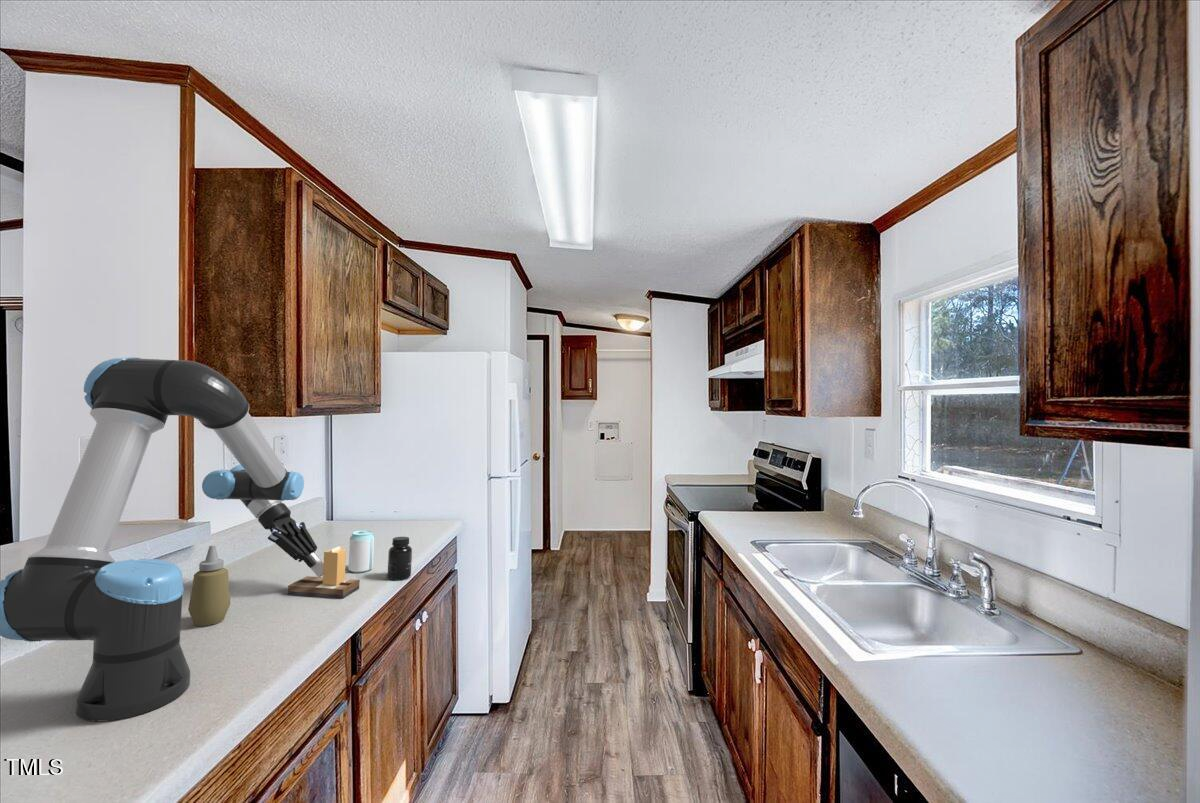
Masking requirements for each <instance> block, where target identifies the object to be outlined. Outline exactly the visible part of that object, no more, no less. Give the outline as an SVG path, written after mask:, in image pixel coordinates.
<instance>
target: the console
mask: <svg viewBox="0 0 1200 803" xmlns="http://www.w3.org/2000/svg"><path fill="white" fill-rule="evenodd" d="M360 583H361V582H360V579H352V578H345V581H343V582H342V583H340V585H323V576H321V577H319V578H318V576H309V575H306V576H304V577H302V578H300V579H298V580H297V581H294V582H292V583H291V584H288V585H287V596H298V595H300V597H301V596H302V597H313V598H325V599H326V598H327V599H328V598H329V599H341V600H344V599H345V598H347V597H348V596H350V595H351V594H353V593H354V592H356V591H358V590H359V589H360Z"/></svg>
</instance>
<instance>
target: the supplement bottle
mask: <svg viewBox="0 0 1200 803" xmlns="http://www.w3.org/2000/svg"><path fill="white" fill-rule="evenodd" d="M391 545H392V546H391V547H390V548H389V549H388V553H387V555H388V556H387V576H386V577H387V579H388V580H390V581H403V580H404V581H405V580H407V579H409V578H410V577H411V575H412V561H413V560H412V558H413V548H412V546H410V537H408V536H395V537H393V538H392V543H391Z"/></svg>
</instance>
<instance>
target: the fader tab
mask: <svg viewBox="0 0 1200 803" xmlns="http://www.w3.org/2000/svg"><path fill="white" fill-rule="evenodd" d="M346 558H347V548H341V546H339V545H338V546H335V547H332V548H330V549H327V550H325V551H323V564H324V565H323V575H322V577H323V585H340V583H342V582H343V581H345V579H346Z"/></svg>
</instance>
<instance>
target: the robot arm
mask: <svg viewBox="0 0 1200 803" xmlns="http://www.w3.org/2000/svg"><path fill="white" fill-rule="evenodd" d="M83 392H84V393H85V394H86V395H84V396H83V397H84V401H85V402H86V404H87V405H88V407H90V408H91V410H90V412H89V415H90V416H91V417H92V418H93V420H94V421H95V423H96V424H95V426H94V429H93V431H92V434H91V436H90V439H89V441H88V444H87V445H86V448H85V451H84V453H83V455H82V458H81V460H80V463H79V465H78V467H77V469H76V472H75V474H74V477H73V479H72V482H71V484H70V486H69V488H68V490H67V493H66V496H65V499H64V501H63V503H62V506H61V507H60V510H59V513H58V515H57V518H56V520H55V522H54V525H53V527H52V529H51V532H50V534H49V536H48V539H47V541H46V544H45V546H44V547H43V548H41V549H40V550H38V551H36V552H33V553H32V554H30V555H28V557H27V560H26V562H25V564H24V566H23V568H21V569H18V570H15V571H13V572H10V573H8V575H6V576H5V578H4V579H2V580H1V579H0V637H1V638H4V639H7V640H13V641H14V640H15V641H25V642H30V643H32V642H41V641H53V642H54V641H93V652H92V662H91V665H90V667H89V669H88V672H87V674H86V676H85V679H84V681H83V684H82V686H81V688H80V690H79V692H78V695H77V698H76V705H75V707H76V709H75V713H76V717H78V718H79V719H81V720H84V721H89V720H90V722H99V721H98V720H109V721H116V719H117V720H120V719H121V720H122V719H127V718H132V717H135V716H139V715H141V714H145V713H147V712H151V711H154V710H156V709H158V708H161V707H164V706H165V705H167V704H170V703H171V702H173V701H174V700H176V699H178V698H179V697H181V696H182V695H183V694H184V693H185V692H186V691H187V690H188V688H189V687H190V685H191V670H190V667H189V663H188V662H187V659H186V657H185V654H184V652H183V648H182V647H181V627H182V625H181V624H182V605H183V594H184V590H185V589H184V583H183V573H182V572H183V571H182V570H181V568H180V567H179V566H178V565H177V564H175V563H174V562H171V561H168V560H162V559H156V558H153V559H152V558H140V559H124V560H120V561H118V560H117V561H116V560H115V559H114V558H113V557H112V555H111V554H110V551H109V550H110V547H111V546H112V542H113V540H114V537H115V534H116V532H117V529H118V526H119V523H120V522H121V518H122V515H123V514H124V510H125V507H126V505H127V502H128V500H129V496H130V494H131V491H132V488H133V485H134V483H135V480H136V478H137V475H138V472H139V469H140V466H141V464H142V461H143V459H144V456H145V453H146V451H147V448H148V445H149V442H150V440H151V437H152V435H153V433H154V434H155V433H156V432H158V431H160V430H163V429H164V428H165V425H166V423H167V420H168V417H169V416H186V417H191V418H194V419H196V420H198V421H199V423H201V425H202V426H204V427H205V428H207V429H210V430H213V431H214V433H215V434H216V435H217V437H218V438H219V439H220V440H221V441H222V443H223V444H224V445H225V447H226V448H227V449H228V450H229V452H230V453H231V455H232V456H233V457H234V458H235V460H237V462H238V465H235V466H234V467H232V468H231V469H229V470H228V469H218V470H213V471H210V472H209V473H208V474H206V475H205V477H204V478H203V480H202V483H201V489H202V493H203V494H204V495H205V496H206V497H208V498H209V499H213V500H220V501H221V500H222V501H223V500H240V502H242V504H243V505H244V506H245V507H246V509H248V510H249V512H250V513H251V514H252V515H253V516H254V518H255V519H257V521H258V523H259V524H260V525H261V526H262V528H264V530H269V531H270V532H271V533H270V534H269V535H268V537H267V540H269V541H270V542H273V543H275V544H276V545H277V547H279V548H280V549H282V551H284V552H285V553H286V554H287V555H289V556H290V557H291V558H292V559H293V560H294V561H297V562H298V563H301V562H302V561H303V562H304V564H306V565H307V567H308V568H310V569H311V571H312V572H313V573H314V574H315V575H316V577H318V578H319V577H323V565H324V562H323V561H322V560H321V559H320V558H319V556H318V555H317V554H316V551H317V550H318V546H317V545H316V543H315V541H314V539H313V537H312V536H311V534H310V533H309V531H308V529H307V527H306V523H305V522H304V521H301V522H300V523H298V522H296V520H295V519H293V518H292V517H291V514H292V511H291V509H289V508H288V506H287V505H286V504H285V503H284V502H283V501H295V500H297V499H299V498H300V497H301V495H302V493H303V491H304V488H305V483H304V482H305V480H304V479H305V478H304V476H303V475H302V473H300V472H297V471H288V470H287V469H286V467H285V466H284V464H283V463H282V461H281V460H280V459H279V457H278V455H277V454H276V452H275V451H274V449H273V448H272V446H271V444H270V443H269V442H268V440H267V439H266V437H265V436H264V433H263V432H262V431H261V430H260V428H259V426H258V425H257V423H256V422H255V420H254V419H253V417H252V415H251V414H250V413H249V410H250V404H249V401H248V400H247V399H246V397H245V395H244V394H243V393H242V391H241V390H240V389H239V388H238V387H237V386H236V385H235V384H234V383H233V382H231V381H230V380H229V379H228V378H227V377H225V375H222V374H221V373H220V372H218V371H217V370H215V369H213V368H212V367H211V366H208V365H206V364H203V363H201V362H198V361H193V360H187V359H179V360H177V359H176V360H175V359H159V358H158V359H157V358H156V359H154V358H141V357H135V356H132V357H125V358H124V357H123V358H122V357H121V358H119V357H118V358H117V357H116V358H115V357H114V358H110V359H108V360H104V361H102V362H100V363H98V364H97V365H96V366H95V367H94V368H92V369H91V370H90V371H89V374H87V377H86V379H85V381H84V386H83ZM114 719H115V720H114ZM92 720H94V721H92Z"/></svg>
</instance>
